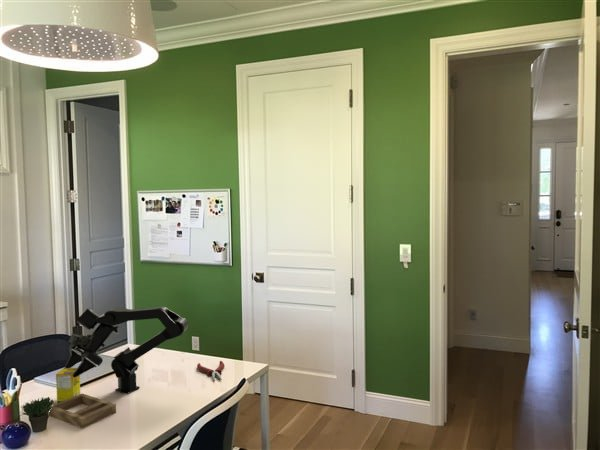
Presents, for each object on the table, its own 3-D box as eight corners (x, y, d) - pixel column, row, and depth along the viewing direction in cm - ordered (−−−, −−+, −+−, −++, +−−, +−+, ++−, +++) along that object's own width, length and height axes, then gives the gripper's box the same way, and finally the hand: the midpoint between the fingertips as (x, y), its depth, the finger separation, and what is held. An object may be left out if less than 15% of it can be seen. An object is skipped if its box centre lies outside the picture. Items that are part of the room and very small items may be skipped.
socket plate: (116, 412, 164) (115, 404, 164) (82, 428, 153) (81, 419, 153) (82, 401, 173) (82, 393, 173) (47, 415, 162) (47, 406, 162)
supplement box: (80, 396, 178) (79, 367, 177) (73, 403, 172) (72, 373, 171) (64, 396, 178) (63, 367, 177) (56, 403, 172) (55, 373, 171)
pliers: (203, 385, 190) (203, 378, 189) (196, 368, 208) (196, 362, 208) (232, 381, 193) (232, 375, 193) (222, 365, 212) (222, 359, 212)
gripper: (73, 320, 184) (43, 355, 177) (92, 330, 171) (60, 368, 164) (95, 336, 190) (66, 371, 183) (115, 347, 177) (85, 384, 170)
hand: (69, 373), depth 175 cm, fingers open, 9 cm apart
